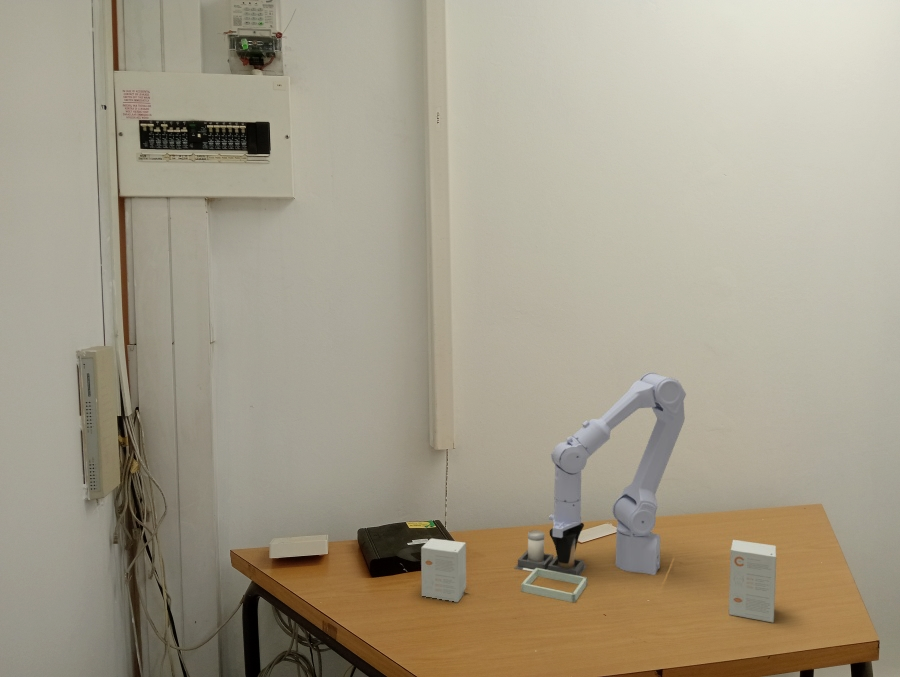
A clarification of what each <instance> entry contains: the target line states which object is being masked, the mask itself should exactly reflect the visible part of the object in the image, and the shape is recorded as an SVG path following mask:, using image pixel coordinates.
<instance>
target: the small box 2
mask: <svg viewBox="0 0 900 677" xmlns="http://www.w3.org/2000/svg"><path fill="white" fill-rule="evenodd" d="M729 560H730V562H729V564H730V565H729V593H728V615H729V616H734V617H741V618H747V619H751V620H758V621H763V622H768V623H772V624H773V623H774V621H775V605H776V581H777V580H776V579H777V546H776V545H773V544H766V543H760V542H759V543H758V542H751V541H745V540H737V539H732V542H731V546H730V558H729Z"/></svg>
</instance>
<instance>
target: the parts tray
mask: <svg viewBox="0 0 900 677" xmlns="http://www.w3.org/2000/svg"><path fill="white" fill-rule="evenodd" d="M538 577H540V578H546V579H550V580H555V581H560V582H564V583H569V584H576V585H577V586H576V588H575V590H574V591H573V593H572V592H569V591H563V590H558V589H553V588H548V587H545V586H544V587H543V586H539V585H535V584H534V585H533V584H532V583H533V582H535V580H536V579H537V578H538ZM520 585H521V586H520V592H522V593H527V594H532V595H536V596H542V597H546V598H551V599H554V600H555V599H556V600H561V601H565V602H568V603H569V602H570V603H576V601H577V600H578V599H579V597H580V596H581V594H582V593H583V591H584V590H585V588H586V587H587V585H588V577H586V576H581V575H580V576H576V575H571V574H566V573H561V572H556V571H550V570H545V569H540V568H535V569H534V570H533V572H530V574H529V575H527V577H526V578H525V579H524V580H523V582H522V583H521V584H520Z"/></svg>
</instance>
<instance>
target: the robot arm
mask: <svg viewBox="0 0 900 677" xmlns="http://www.w3.org/2000/svg"><path fill="white" fill-rule="evenodd" d="M686 396H687V393H686V391H685V389H684V388H683V386H682V384H681V383H680V382H679V380H677V379H676V378H673V377H669V376H668V377H667V376H666V375H665V376H664V375H660V374H658V373H657V372H647V373H645V374H643V375H642V376H641V377H640V378H639V379H638V380H636V381H634V382H633V383H632V385H631V387H629V389H628V391H626V393H624V395H622V396H621V397H620V398H619V399H618V400H617V401H616V402H615V403H614V404H613V405H612V406H611V407H610V408H609V409H608V410H607V411H606V412H605V413H604V414H603V415H602V416H601V417H600V418H590V419H589V420H585V421H584V422H582V423H581V425H582V427H580V428H579V429H578V430H577V431H576V432H575V433H574V434H572V435H571V436H567V438H565V440H566V441H563V442H559V443H558V444H556V446H555V447H554V448H553V451H552V453H551V454H550V458H551V461H552V463H554V465H555V466H554V494H553V495H554V496H553V497H554V499H553V500H554V501H553V510H554V511H553V513H551V514H549V516H548V520H550V521H552V523H553V527H552V528H550V530H549V536H550V538H551V540H552V542H553V544H554V548H555V552H556V556H557V558H558V561H559V562H560V563H566V564H568V562H569V559H570V554H571V548H572V544H573V541H574V539H575V551H576V550H577V546H578V541H579V538H580V534H581V532H582V530H583V529H584V527H585V524H584V523H583V522H582V516H581V515H582V513H581V510H582V506H581V505H582V471H583V470H584V469H585V468H586V466H587V461H588V459H589V458H590V457H591V456H592V455H594V453H595V452H597V450H599V449H600V448H601V447H602V446H603V445H604V444H606V443H607V442H608V441H609V440H610V438H611V431H612V430H614V428H616V427H617V426H619V425H620V423H622V422H624V421H625V420H626V419H627V418H629V417H631V415H632V414H633V413H635V412H636V411H637V410H639V409H647V408H650V409H651V410H652V411H653V413H654V416H656V422H655V423H654V427H653V429H652V431H651V434H650V437H649V439H648V441H647V444H646V446H645V449H644V451H643V454H642V457H641V459H640V462H639V464H638V466H637V470H636V472H635V474H634V477H633V479H632V482H631V483H630V484H629V485H627V486H625V487H624V488H623V490H622V493H621V494H620V496H619V497H618V498H617V499H615V501H614V503H613V504H612V515H613V517H614V518H615V519H616V521H617V522H616V523H617V524H616V533H615V534H616V538H615V566H616V567H617V568H618V569H620V570H623V571H626V572H631V573H641V574H642V573H643V574H647V575H653V576H656V574H657V572H658V570H659V569H660V566H661V535H660V534H657V533H654V532H653V530H654V528H655V526H656V522H657V518H656V515H657V514H656V513H657V511H658V507H659V506H658V501H657V496H656V494H657V490H658V488H659V485H660V483H661V480H662V478H663V475H664V473H665V470H666V467H667V465H668V463H669V460H670V458H671V457H672V456H671V455H672V452H673V450H674V448H675V445H676V444H677V440H678V437H680V436H679V435H680V434H681V430H682V428H683V425H684V422H685V418H686V417H685V405H684V404H685V403H684V401H685V398H686Z"/></svg>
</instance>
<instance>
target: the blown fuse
mask: <svg viewBox="0 0 900 677" xmlns="http://www.w3.org/2000/svg"><path fill="white" fill-rule="evenodd" d="M575 557H576V550H575V539H574V541H573V544H572V548H571V554H570V559H569V562H568V564H566V563H560V562H559V561H558V566H559V567H565V568H570V569H575V559H576V558H575Z"/></svg>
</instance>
